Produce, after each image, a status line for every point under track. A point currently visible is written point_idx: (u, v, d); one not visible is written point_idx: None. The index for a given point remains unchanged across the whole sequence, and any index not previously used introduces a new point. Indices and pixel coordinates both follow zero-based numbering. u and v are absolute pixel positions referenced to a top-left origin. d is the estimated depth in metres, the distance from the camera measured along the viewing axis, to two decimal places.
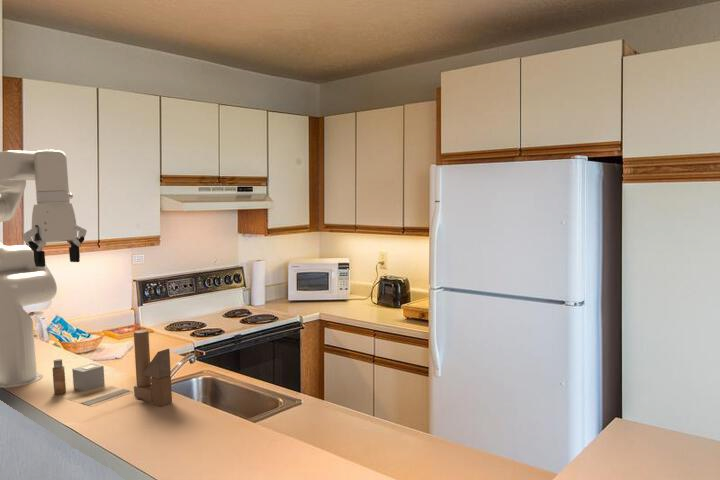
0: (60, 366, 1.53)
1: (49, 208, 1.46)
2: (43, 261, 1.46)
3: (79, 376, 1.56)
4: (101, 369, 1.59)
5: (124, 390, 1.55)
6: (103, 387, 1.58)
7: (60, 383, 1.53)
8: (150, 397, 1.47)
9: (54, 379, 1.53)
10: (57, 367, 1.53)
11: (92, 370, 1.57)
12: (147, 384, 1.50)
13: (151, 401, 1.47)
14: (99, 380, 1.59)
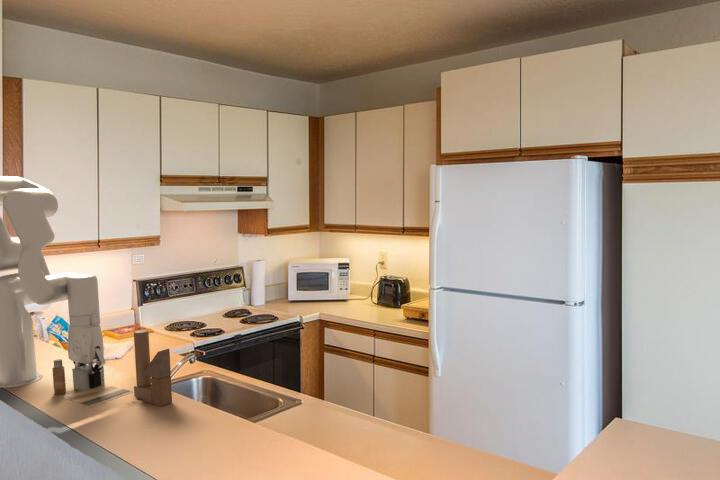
0: (60, 366, 1.53)
1: None
2: (100, 380, 1.58)
3: (79, 376, 1.56)
4: None
5: (124, 390, 1.55)
6: (103, 387, 1.58)
7: (60, 383, 1.53)
8: (150, 397, 1.47)
9: (54, 379, 1.53)
10: (57, 367, 1.53)
11: None
12: (147, 384, 1.50)
13: (151, 401, 1.47)
14: None
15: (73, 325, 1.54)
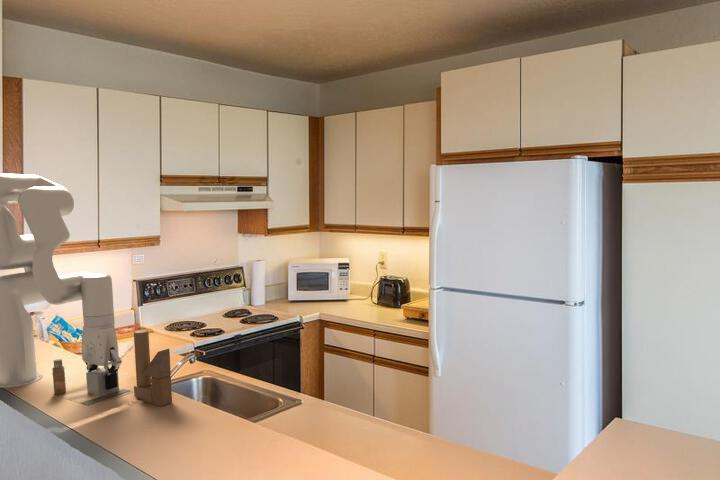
0: (60, 366, 1.53)
1: None
2: (116, 381, 1.54)
3: (93, 380, 1.52)
4: None
5: (124, 390, 1.55)
6: None
7: (60, 383, 1.53)
8: (150, 397, 1.47)
9: (54, 379, 1.53)
10: (57, 367, 1.53)
11: (106, 374, 1.53)
12: (147, 384, 1.50)
13: (151, 401, 1.47)
14: None
15: (87, 326, 1.50)
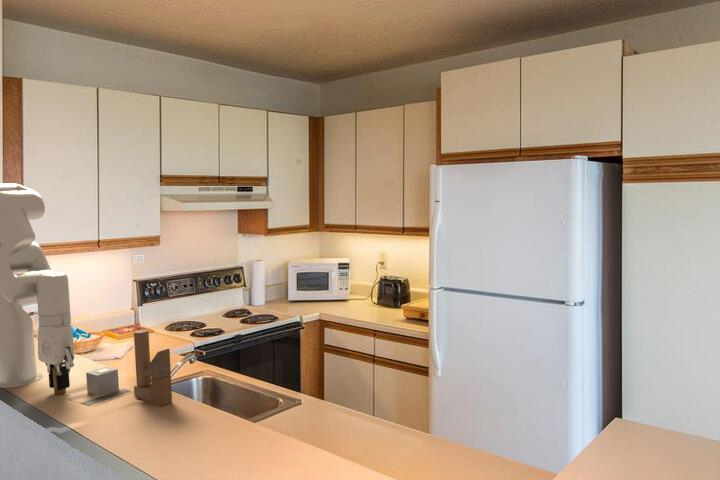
0: None
1: None
2: (68, 382, 1.55)
3: (93, 380, 1.52)
4: (116, 373, 1.56)
5: (124, 390, 1.55)
6: None
7: None
8: (150, 397, 1.47)
9: (54, 379, 1.53)
10: None
11: (106, 374, 1.53)
12: (147, 384, 1.50)
13: (151, 401, 1.47)
14: (114, 384, 1.55)
15: (42, 325, 1.49)
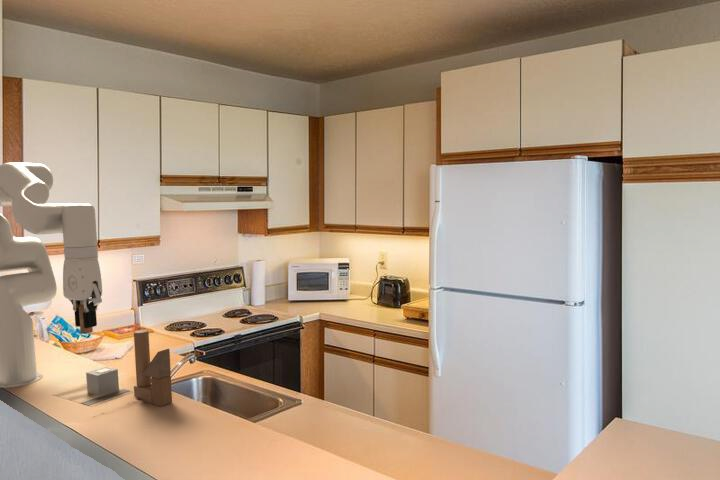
0: None
1: None
2: (95, 320, 1.45)
3: (93, 380, 1.52)
4: (116, 373, 1.56)
5: (124, 390, 1.55)
6: None
7: None
8: (150, 397, 1.47)
9: (80, 316, 1.44)
10: None
11: (106, 374, 1.53)
12: (147, 384, 1.50)
13: (151, 401, 1.47)
14: (114, 384, 1.55)
15: (68, 258, 1.40)
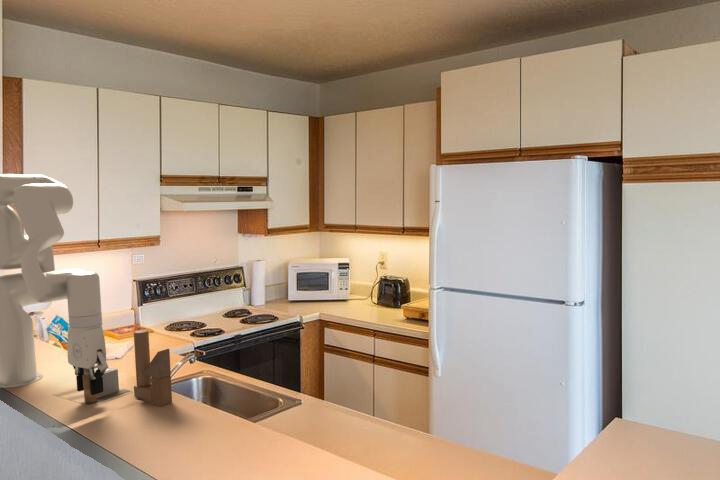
0: None
1: None
2: (102, 386, 1.46)
3: None
4: (116, 373, 1.56)
5: (124, 390, 1.55)
6: None
7: None
8: (150, 397, 1.47)
9: (84, 387, 1.45)
10: (87, 374, 1.46)
11: (106, 374, 1.53)
12: (147, 384, 1.50)
13: (151, 401, 1.47)
14: (114, 384, 1.55)
15: (73, 327, 1.42)
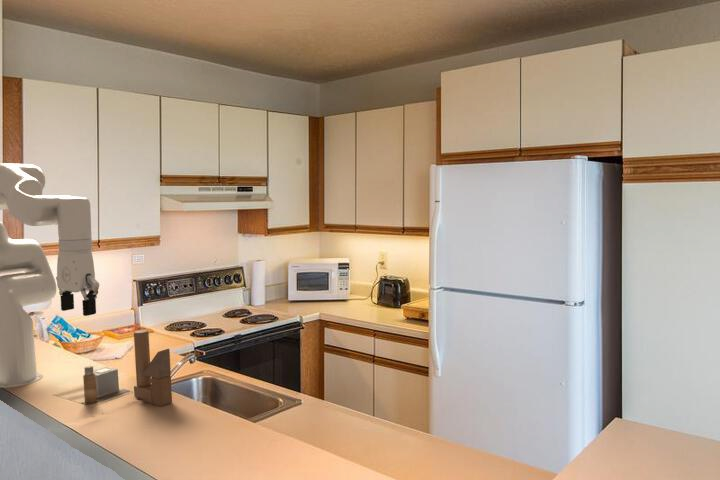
0: (91, 373, 1.46)
1: None
2: (95, 308, 1.46)
3: None
4: (116, 373, 1.56)
5: (124, 390, 1.55)
6: None
7: (92, 391, 1.46)
8: (150, 397, 1.47)
9: (85, 387, 1.45)
10: (88, 374, 1.45)
11: (106, 374, 1.53)
12: (147, 384, 1.50)
13: (151, 401, 1.47)
14: (114, 384, 1.55)
15: (62, 250, 1.43)
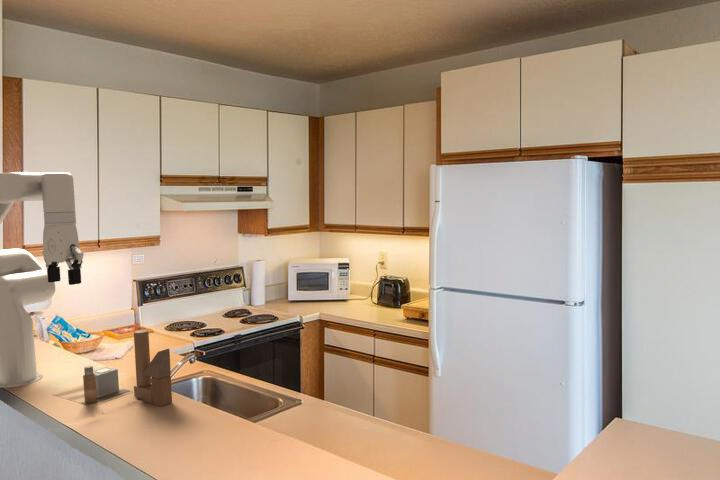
0: (91, 373, 1.46)
1: None
2: (80, 278, 1.53)
3: None
4: (116, 373, 1.56)
5: (124, 390, 1.55)
6: None
7: (92, 391, 1.46)
8: (150, 397, 1.47)
9: (85, 387, 1.45)
10: (88, 375, 1.45)
11: (106, 374, 1.53)
12: (147, 384, 1.50)
13: (151, 401, 1.47)
14: (114, 384, 1.55)
15: (47, 222, 1.50)
